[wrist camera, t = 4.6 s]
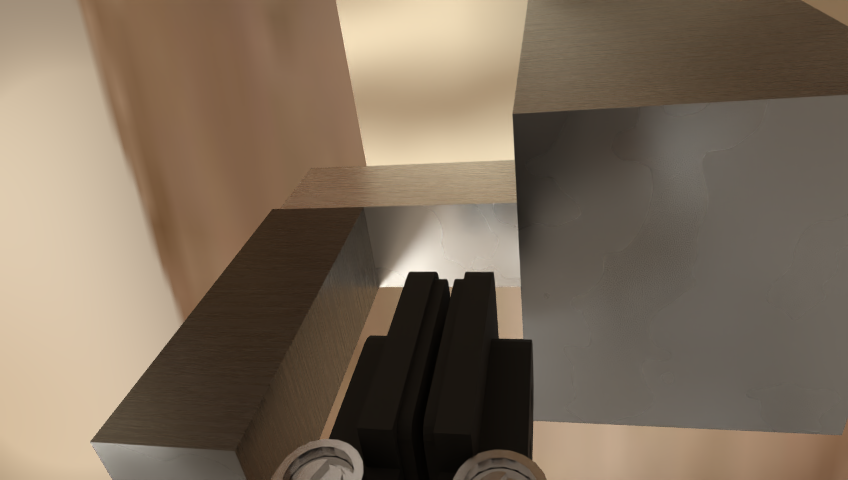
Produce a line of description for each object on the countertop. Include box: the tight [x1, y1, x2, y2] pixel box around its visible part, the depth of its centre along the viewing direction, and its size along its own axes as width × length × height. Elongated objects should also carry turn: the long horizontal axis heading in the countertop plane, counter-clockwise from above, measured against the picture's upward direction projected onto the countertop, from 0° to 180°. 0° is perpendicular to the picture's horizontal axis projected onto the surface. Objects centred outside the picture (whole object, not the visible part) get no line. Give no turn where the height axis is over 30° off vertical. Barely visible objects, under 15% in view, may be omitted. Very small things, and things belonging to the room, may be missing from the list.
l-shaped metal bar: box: [90, 160, 521, 480], centre depth 12 cm, size 2×20×10 cm, turn 97°
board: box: [336, 0, 848, 166], centre depth 22 cm, size 16×24×1 cm, turn 97°
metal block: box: [512, 0, 848, 435], centre depth 17 cm, size 8×7×12 cm
